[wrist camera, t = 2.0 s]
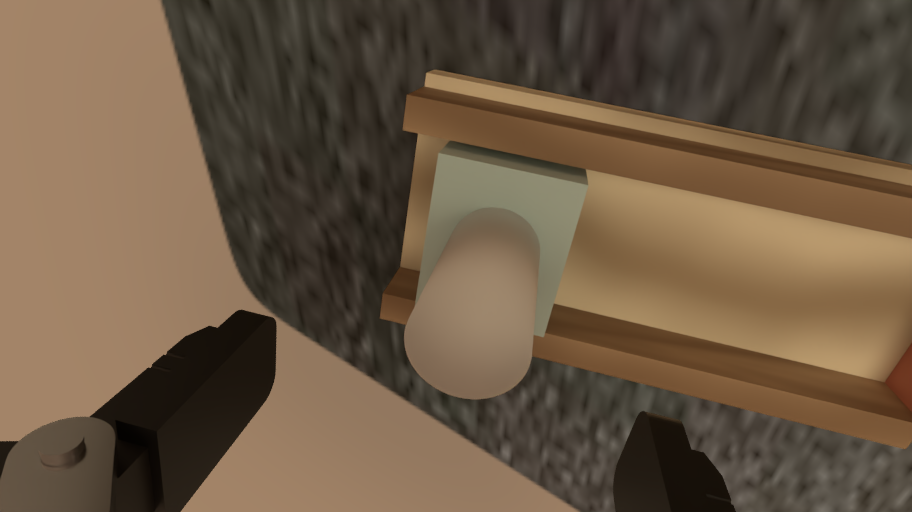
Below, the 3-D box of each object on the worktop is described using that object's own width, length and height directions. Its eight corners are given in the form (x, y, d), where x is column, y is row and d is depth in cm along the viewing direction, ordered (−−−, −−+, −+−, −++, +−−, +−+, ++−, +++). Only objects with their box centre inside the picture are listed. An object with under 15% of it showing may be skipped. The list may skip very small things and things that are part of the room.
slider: (454, 135, 20) (382, 213, 12) (584, 162, 19) (603, 263, 11) (432, 271, 22) (360, 412, 14) (545, 298, 22) (537, 460, 14)
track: (435, 69, 20) (404, 80, 16) (1023, 187, 18) (1153, 232, 14) (404, 284, 25) (374, 334, 21) (877, 398, 23) (946, 479, 19)
